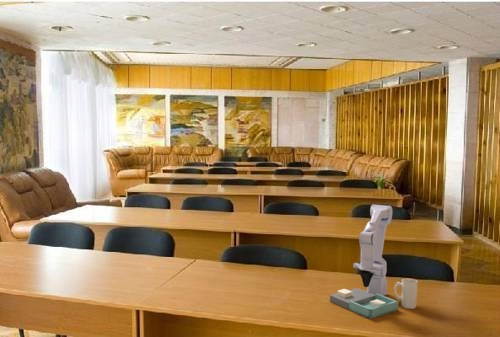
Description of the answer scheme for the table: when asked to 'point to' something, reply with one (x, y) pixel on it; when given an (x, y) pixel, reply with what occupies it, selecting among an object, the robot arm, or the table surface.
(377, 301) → the tile
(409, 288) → the mug
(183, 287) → the table surface
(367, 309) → the tray
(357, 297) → the grey flat slab
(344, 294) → the tile
